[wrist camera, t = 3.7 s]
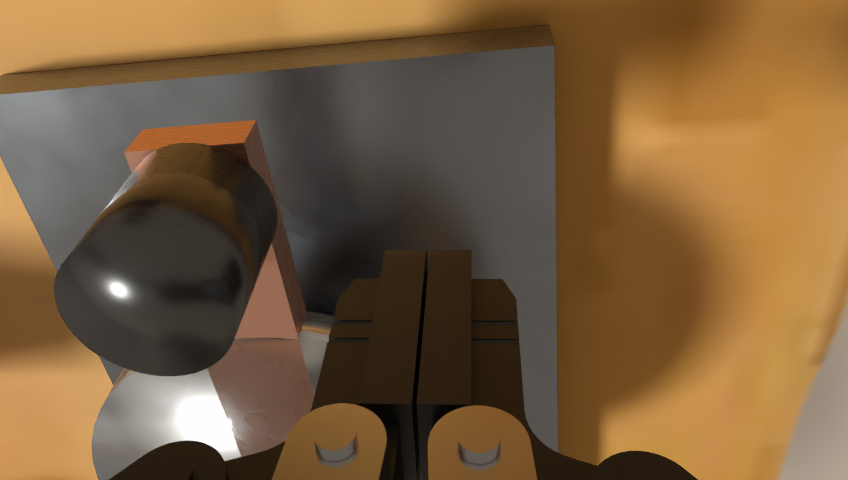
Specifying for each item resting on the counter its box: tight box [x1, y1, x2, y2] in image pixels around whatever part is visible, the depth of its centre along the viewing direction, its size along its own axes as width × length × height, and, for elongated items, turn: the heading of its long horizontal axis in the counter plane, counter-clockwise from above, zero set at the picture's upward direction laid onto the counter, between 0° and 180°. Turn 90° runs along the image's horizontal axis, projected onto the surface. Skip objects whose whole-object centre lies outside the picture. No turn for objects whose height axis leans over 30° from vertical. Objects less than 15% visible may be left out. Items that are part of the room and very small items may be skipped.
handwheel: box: [54, 120, 422, 480], centre depth 17 cm, size 16×11×4 cm
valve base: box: [0, 25, 558, 452], centre depth 23 cm, size 20×15×5 cm
